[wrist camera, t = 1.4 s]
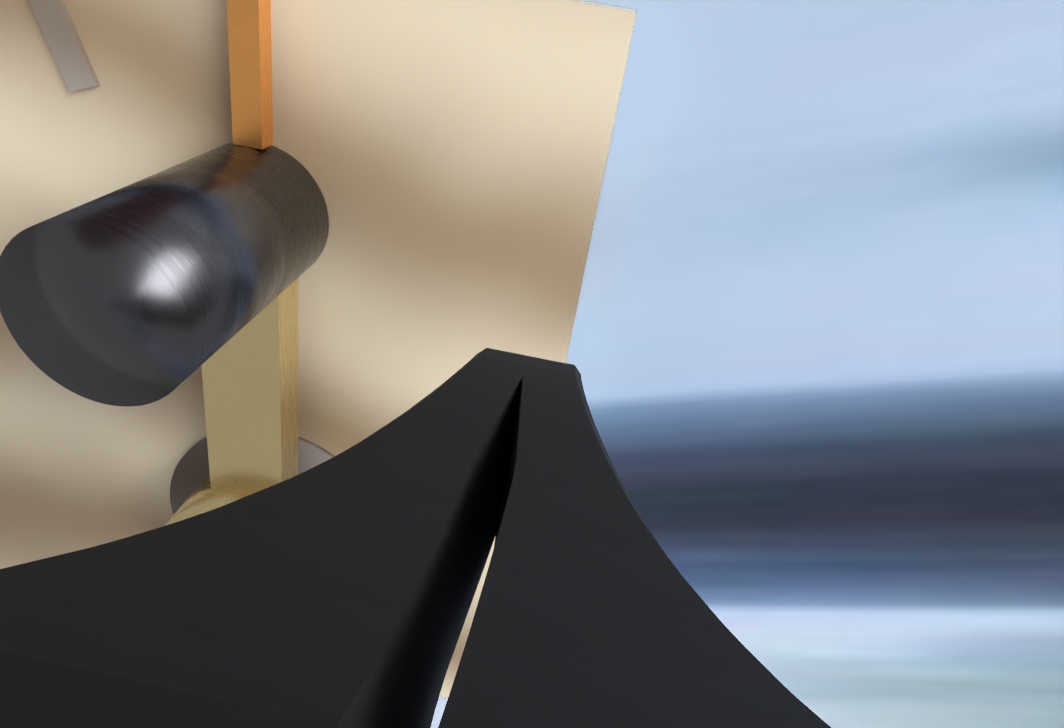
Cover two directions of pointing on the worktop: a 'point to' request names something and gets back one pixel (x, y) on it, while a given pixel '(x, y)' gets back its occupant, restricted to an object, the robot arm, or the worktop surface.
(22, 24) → the dial board
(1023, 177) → the worktop surface
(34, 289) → the lever
